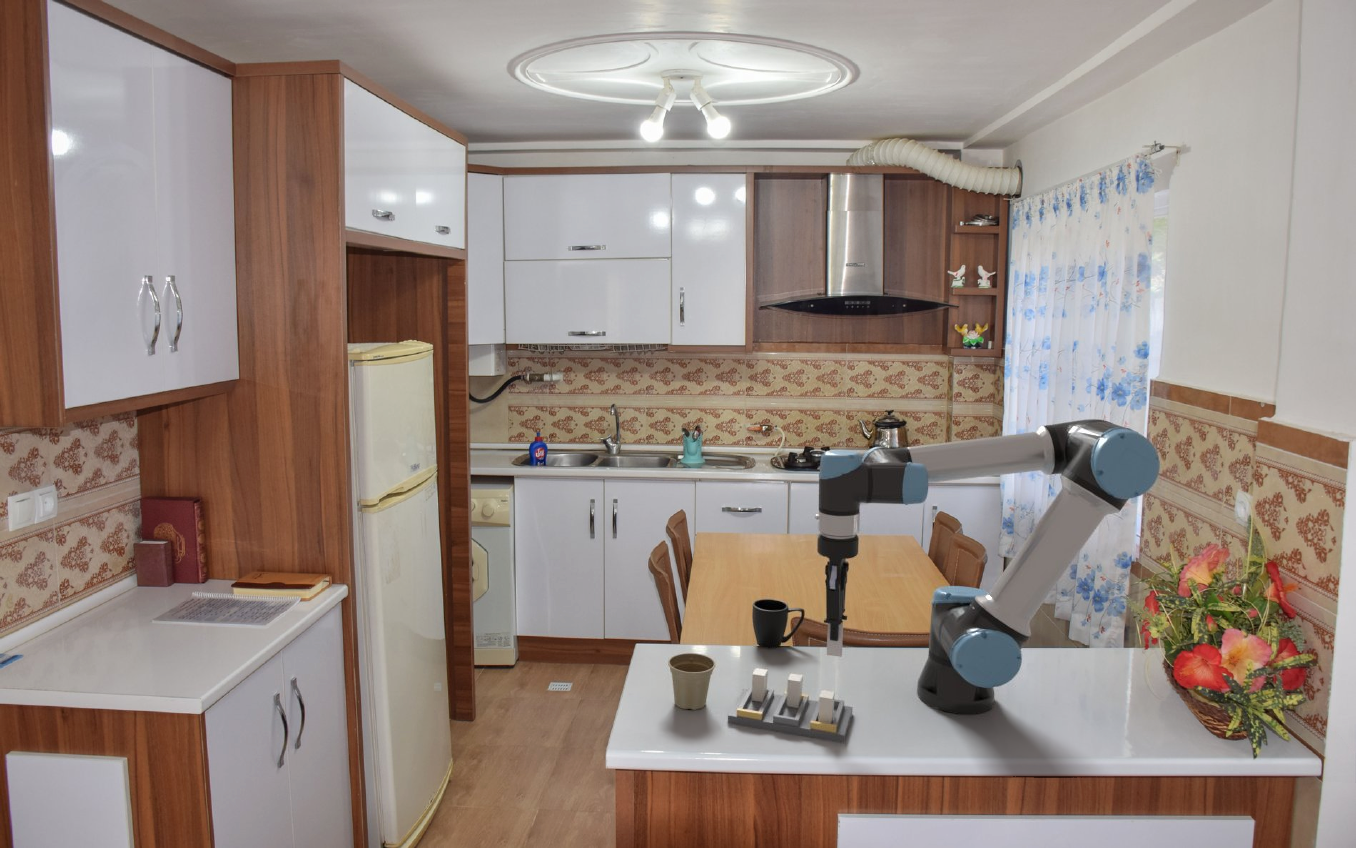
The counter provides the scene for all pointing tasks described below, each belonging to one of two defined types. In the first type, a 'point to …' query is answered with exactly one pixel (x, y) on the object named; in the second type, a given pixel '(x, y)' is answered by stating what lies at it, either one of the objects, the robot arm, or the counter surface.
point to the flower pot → (691, 679)
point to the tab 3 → (826, 707)
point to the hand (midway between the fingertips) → (834, 654)
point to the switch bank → (790, 716)
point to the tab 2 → (794, 690)
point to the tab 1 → (759, 685)
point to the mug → (772, 622)
